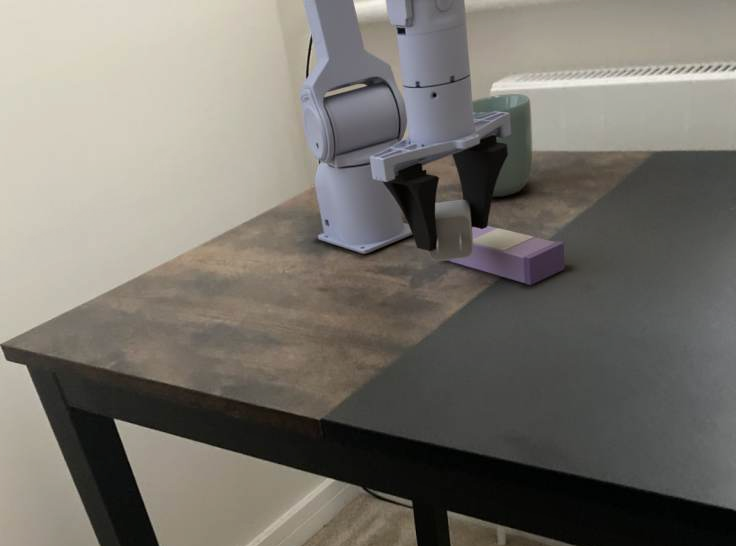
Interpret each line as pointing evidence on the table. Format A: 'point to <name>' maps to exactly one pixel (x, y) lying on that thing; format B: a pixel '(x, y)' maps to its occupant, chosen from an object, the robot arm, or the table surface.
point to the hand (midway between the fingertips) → (452, 237)
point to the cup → (511, 140)
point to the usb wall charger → (453, 231)
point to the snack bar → (514, 255)
